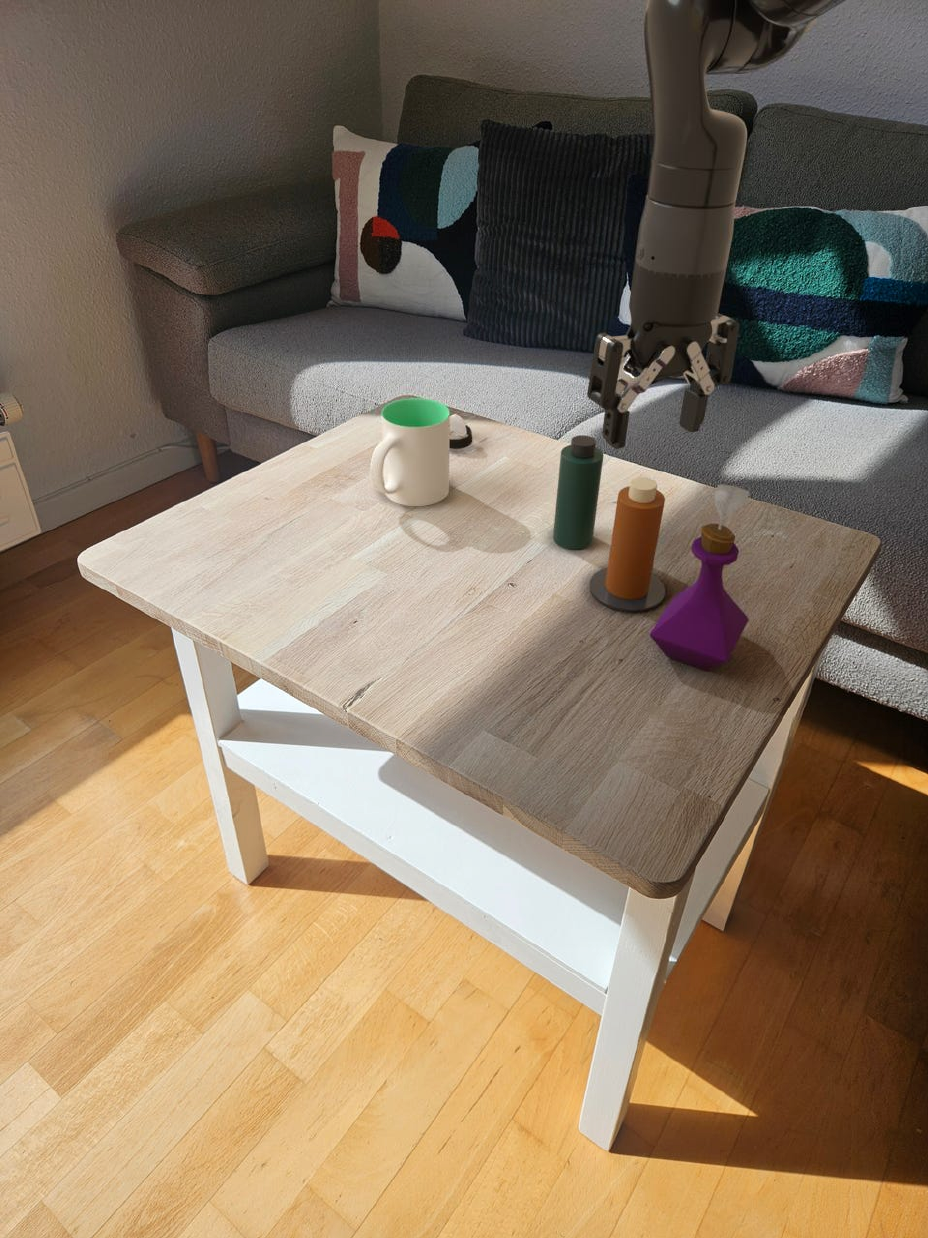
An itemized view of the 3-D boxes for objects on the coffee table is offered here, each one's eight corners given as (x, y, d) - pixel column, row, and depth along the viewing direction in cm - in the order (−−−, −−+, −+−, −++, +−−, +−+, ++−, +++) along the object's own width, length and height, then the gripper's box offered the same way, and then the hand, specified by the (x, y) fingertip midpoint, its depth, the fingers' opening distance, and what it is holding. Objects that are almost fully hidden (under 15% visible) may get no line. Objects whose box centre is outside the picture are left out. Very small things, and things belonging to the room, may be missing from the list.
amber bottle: (642, 573, 95) (660, 471, 87) (653, 598, 91) (672, 494, 83) (601, 574, 94) (615, 472, 87) (609, 600, 91) (625, 495, 83)
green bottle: (588, 528, 103) (600, 430, 95) (596, 549, 99) (609, 450, 91) (549, 528, 102) (559, 431, 95) (556, 550, 99) (565, 450, 91)
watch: (480, 445, 119) (481, 420, 117) (455, 455, 116) (456, 430, 114) (443, 426, 123) (443, 402, 121) (418, 436, 121) (417, 411, 119)
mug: (408, 527, 102) (405, 446, 96) (352, 508, 105) (347, 429, 99) (461, 484, 110) (462, 408, 104) (408, 468, 113) (406, 392, 107)
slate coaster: (654, 567, 96) (654, 564, 96) (673, 611, 90) (673, 608, 90) (583, 569, 96) (583, 566, 96) (597, 613, 90) (597, 610, 89)
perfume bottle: (719, 688, 81) (764, 522, 70) (643, 661, 84) (675, 498, 73) (742, 644, 86) (787, 483, 75) (670, 620, 89) (702, 462, 78)
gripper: (636, 280, 67) (611, 469, 77) (778, 259, 72) (737, 439, 82) (584, 254, 72) (567, 434, 82) (719, 237, 77) (688, 408, 87)
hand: (652, 436), depth 82 cm, fingers open, 8 cm apart
